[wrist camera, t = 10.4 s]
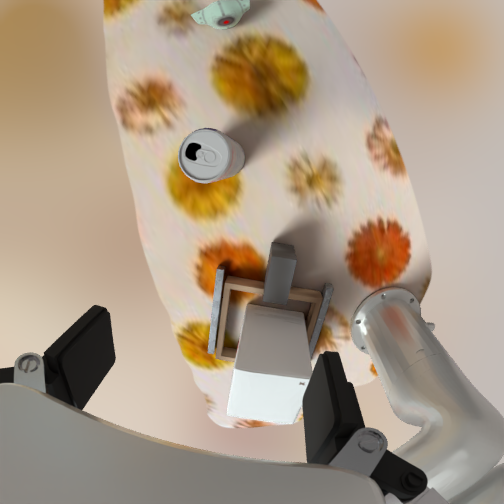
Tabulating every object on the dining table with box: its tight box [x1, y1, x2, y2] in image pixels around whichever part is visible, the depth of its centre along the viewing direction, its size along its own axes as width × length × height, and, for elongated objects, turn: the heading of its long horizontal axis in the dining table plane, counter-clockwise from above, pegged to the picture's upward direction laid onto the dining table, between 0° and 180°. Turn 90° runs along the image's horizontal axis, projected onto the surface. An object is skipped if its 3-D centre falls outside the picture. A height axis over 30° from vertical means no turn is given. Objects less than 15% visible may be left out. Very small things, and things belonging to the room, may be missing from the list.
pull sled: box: [216, 242, 323, 362], centre depth 39 cm, size 14×20×6 cm
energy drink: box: [178, 128, 245, 183], centre depth 30 cm, size 5×5×12 cm
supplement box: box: [227, 304, 312, 424], centre depth 36 cm, size 9×9×15 cm
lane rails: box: [208, 265, 333, 359], centre depth 42 cm, size 17×15×2 cm
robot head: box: [191, 0, 250, 30], centre depth 26 cm, size 8×4×7 cm, turn 106°
